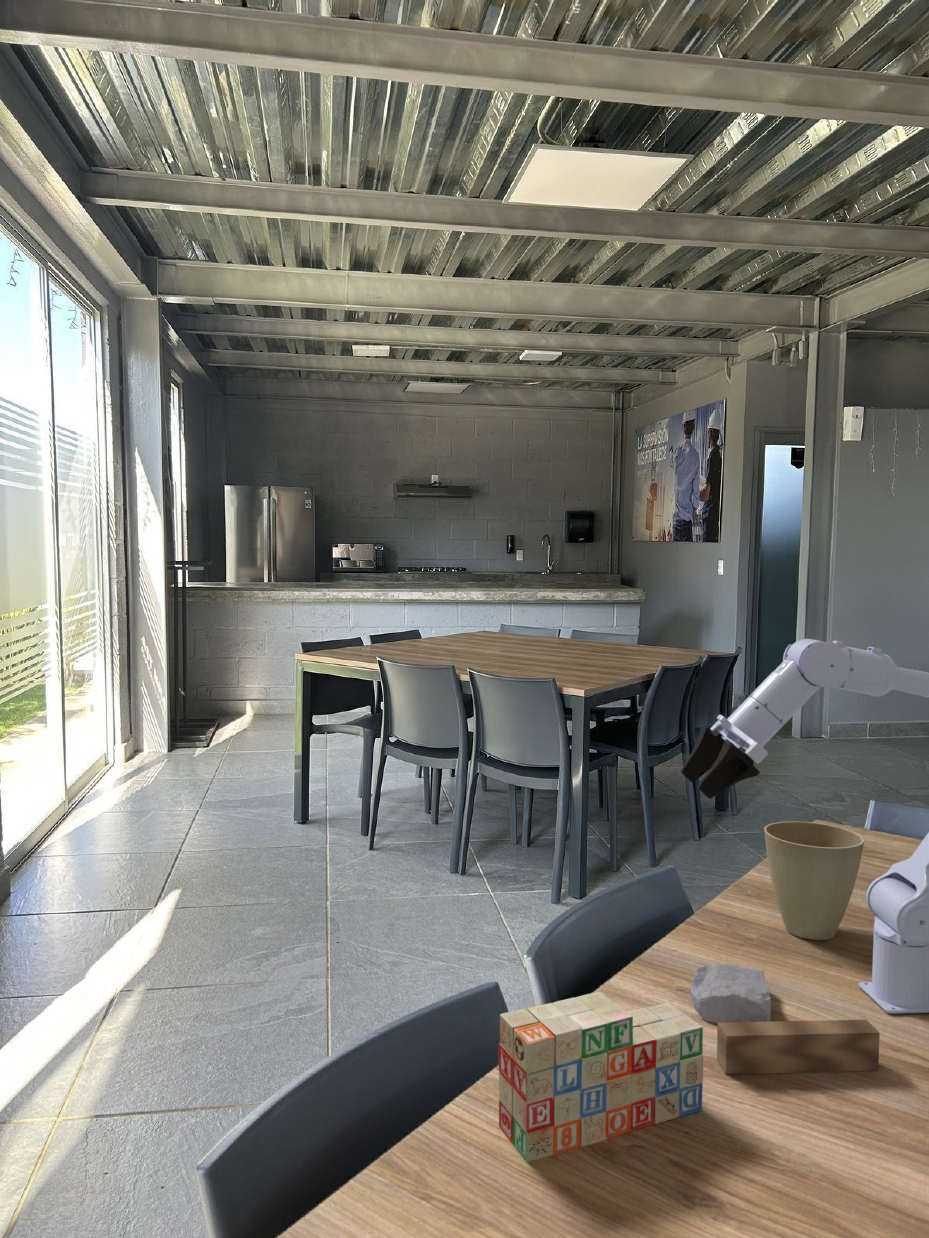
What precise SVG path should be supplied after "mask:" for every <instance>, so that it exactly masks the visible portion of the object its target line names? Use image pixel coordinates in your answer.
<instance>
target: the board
mask: <svg viewBox="0 0 929 1238" xmlns="http://www.w3.org/2000/svg"><path fill="white" fill-rule="evenodd" d="M880 1034H881V1033H880V1031H878V1030H877V1029H876V1027H875V1026H873V1025H872V1024H871V1023H870V1021H868V1019H841V1020H840V1019H835V1020H834V1019H831V1020H830V1019H828V1020H825V1019H824V1020H823V1019H822V1020H781V1021H779V1020H778V1021H773V1020H772V1021H771V1022H725V1023H718V1024H717V1033H716V1061H717V1062H718V1065H719V1066H720V1068H721V1069H722V1071H723V1072H724V1074H725V1075H747V1074H748V1075H749V1074H750V1075H751V1074H752V1075H754V1074H755V1075H757V1074H791V1073H792V1074H793V1073H794V1074H795V1073H831V1072H835V1073H836V1072H868V1071H869V1072H870V1071H871V1072H873V1071H877V1072H878V1071H879V1065H880V1064H879V1062H880V1061H879V1059H880V1036H881V1035H880Z"/></svg>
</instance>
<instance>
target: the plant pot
mask: <svg viewBox="0 0 929 1238" xmlns="http://www.w3.org/2000/svg"><path fill="white" fill-rule="evenodd" d="M763 829H764V831H763V832H764V841H765V848H766V856H767V863H768V868H769V869H768V870H769V874H770V879H771V884H772V887H773V892H774V896H775V900H776V902H777V906H778V910H779V913H780V917H781V918H782V922H783V925H784V927H785V930H786V931H787V932H788V933H790V934H791V935H794V936H796V937H799V938H803V939H806V940H812V941H826V940H827V941H828V940H830V939H832V938H834V937H835V935H836V933H837V931H838V929H839V927H840V924H841V922H842V920H843V919H844V915H845V913H846V911H847V908H848V905H849V903H850V900H851V897H852V894H853V892H854V891H853V890H854V888H855V885H856V882H857V881H856V880H857V877H858V873H859V869H860V864H861V859H862V856H863V849H864V844H865V839H864V837H863V836H862V835H861V834H859V833H857V832H855V831H852V830H850V829H847V828H843V827H841V826H837V825H831V824H827V823H819V822H810V821H792V820H791V821H780V822H773V823H769V824H767V825H766V826H764V828H763Z"/></svg>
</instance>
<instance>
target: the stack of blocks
mask: <svg viewBox="0 0 929 1238" xmlns="http://www.w3.org/2000/svg"><path fill="white" fill-rule="evenodd" d="M703 1031H704V1028H703V1026H702V1025H700V1024H699V1023H697V1021H695V1020H694V1019H692V1018H691V1017H690V1016H689V1015H687V1014H684V1012H682V1011H681V1010H680V1009H678V1008H677V1007H675V1006H674V1005H672V1004H671V1003H670V1002H668V1001H667V1002H663V1003H658V1004H656V1005H651V1006H647V1007H641V1008H640V1007H639V1008H637V1009H633V1010H628V1011H626V1010H625V1009H623V1008H622V1007H621V1006H620V1005H619V1004H617V1003H615V1002H614V1001H612V1000H611V999H610V998H608V997H607V996H606V995H605V994H604V993H602V992H601V991H596V992H591V993H587V994H583V995H580V996H576V997H570V998H567V999H566V998H565V999H562V1000H557V1001H554V1002H548V1003H546V1004H545V1003H544V1004H541V1005H537V1006H532V1007H528V1008H527V1009H526V1008H522V1009H521V1008H520V1009H517V1010H512V1011H508V1012H503V1013H500V1014H499V1043H498V1076H499V1077H498V1083H499V1084H498V1087H499V1089H498V1090H499V1091H498V1092H499V1094H498V1095H499V1099H498V1101H499V1102H498V1127H499V1128H500V1130H501V1131H502V1132H503V1134H504V1135H505V1136H506V1138H507V1139H508V1141H509V1142H510V1143H511V1144H512V1145H513V1146H514V1148H515V1150H516V1151H517V1152H518V1153H519V1154H520V1156H521V1157H522V1158H523V1160H524V1161H525V1162H526V1163H529V1162H533V1161H535V1160H536V1161H537V1160H540V1159H543V1158H546V1157H550V1156H555V1155H558V1154H562V1153H566V1152H569V1151H573V1150H577V1149H579V1148H582V1147H583V1148H584V1147H586V1146H590V1145H594V1144H597V1143H600V1142H603V1141H605V1140H606V1139H610V1138H614V1137H617V1136H621V1135H624V1134H628V1133H630V1132H632V1131H635V1130H636V1131H637V1130H639V1129H640V1130H641V1129H642V1128H643V1129H644V1128H646V1127H649V1126H653V1125H656V1124H660V1123H663V1122H667V1121H670V1120H674V1119H677V1118H679V1117H681V1118H682V1117H684V1116H688V1115H691V1114H694V1113H698V1112H700V1111H702V1109H703V1087H704V1086H703V1081H704V1055H703V1051H704V1049H703V1047H704V1046H703V1043H704V1042H703V1041H704V1038H703V1037H704V1032H703Z"/></svg>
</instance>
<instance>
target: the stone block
mask: <svg viewBox="0 0 929 1238" xmlns="http://www.w3.org/2000/svg"><path fill="white" fill-rule="evenodd" d="M690 994H691V998H692V1003H693V1007H694V1010H695V1011H696V1012H697V1013H698V1015H699V1016H700V1018H701V1019H702V1020H704V1021H706V1022H708V1023H713V1024H717V1025H718V1023H725V1022H772V1020H771V1015H772V1000H771V999H772V998H771V994H770V990H769V987H768V985H767V984H766V980H765V972H764V969H762V968H758V969H755V968H750V967H746V966H744V965H739V964H735V963H733V964H732V963H722V962H719V963H714V964H710V965H709V964H705V965H704V966H700V967H698V968H696V969H695V971H694V976H693V980H692V983H691V988H690Z"/></svg>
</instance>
